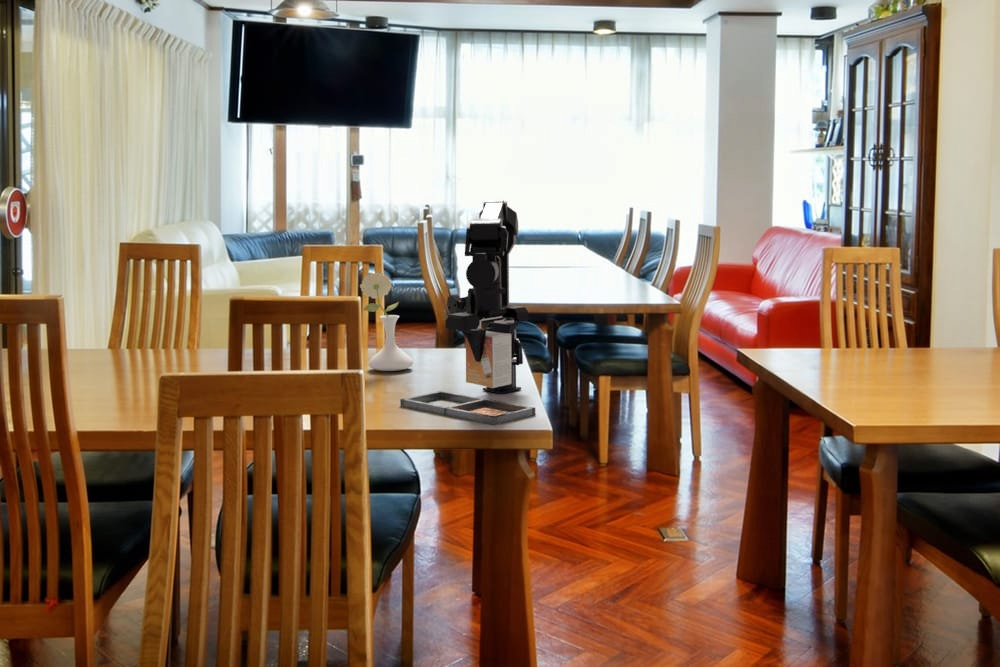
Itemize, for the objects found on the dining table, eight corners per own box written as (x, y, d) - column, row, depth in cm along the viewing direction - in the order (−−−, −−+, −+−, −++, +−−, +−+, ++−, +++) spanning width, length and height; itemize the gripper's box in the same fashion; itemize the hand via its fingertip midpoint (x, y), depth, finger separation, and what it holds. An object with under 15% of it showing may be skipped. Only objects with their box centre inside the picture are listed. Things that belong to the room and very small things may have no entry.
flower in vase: (417, 366, 281) (414, 269, 277) (409, 374, 269) (406, 273, 266) (367, 366, 282) (364, 270, 278) (357, 374, 271) (354, 274, 267)
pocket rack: (441, 397, 240) (441, 390, 240) (535, 414, 221) (535, 407, 221) (400, 406, 232) (400, 399, 232) (494, 425, 213) (494, 417, 212)
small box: (465, 383, 222) (464, 332, 220) (485, 379, 226) (484, 329, 224) (492, 388, 216) (492, 336, 215) (512, 384, 220) (511, 333, 219)
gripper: (490, 277, 230) (491, 349, 233) (425, 284, 217) (427, 361, 219) (529, 280, 223) (530, 355, 225) (464, 288, 209) (466, 367, 212)
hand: (488, 359), depth 220 cm, fingers closed on small box, 6 cm apart
